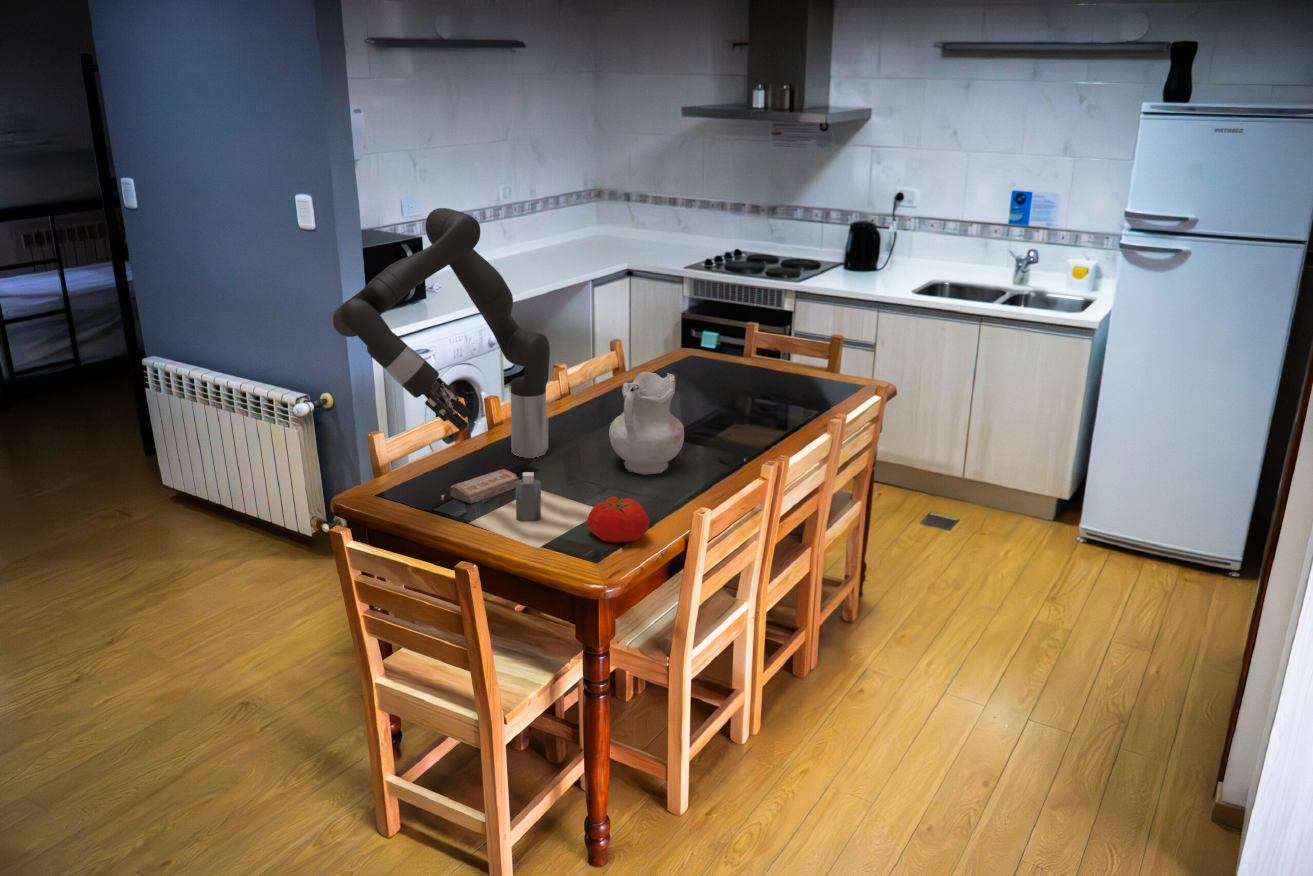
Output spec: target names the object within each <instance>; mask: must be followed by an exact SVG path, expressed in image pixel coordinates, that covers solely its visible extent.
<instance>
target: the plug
mask: <svg viewBox="0 0 1313 876" xmlns="http://www.w3.org/2000/svg"><path fill="white" fill-rule="evenodd" d="M534 473H535V472H534V471H533V472H527V471H525V472H522V479H518V481H516V488H515V500H516V520H518V521H522V522H524V521H539V520H540V519H541V490H542V488H541V487H542V481H541V480H539V479H535V476H534Z"/></svg>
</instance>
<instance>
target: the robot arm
mask: <svg viewBox="0 0 1313 876" xmlns="http://www.w3.org/2000/svg"><path fill="white" fill-rule="evenodd" d="M425 234H426V236H427V239H428V241H429V242H430V244H431V245H429V246H428V247H426V248H424V249H422V250H420V251H418V252H416V253H413V254H411V255H408V256H405V257H404V258H400V259H399V260H396V261H395V262H393V263H391V264H390V265H388V266H386V268H384V269H382V271H380V272H379V273H378V274H377V275H376V276H374V278H372V279H371V280H370V281H369V282H368V283H367V284H366V285H365V286H364V287H363V288H362V290H360V291H359V292H357V293H356V294H354V296H352V297H351V298H350V299H348V300H346V301H345V302H344V303H342V304H341V305H340V306H339V307H338V308H337V309H336V310H335V311H334V314H333V318H332V322H333V323H332V324H333V328H334V329H335V331H336V332H337V333H338V334H340V335H341V336H344V337H349V338H353V337H358V338H359V339H360V340H361V341H362V343H363V344H364V345H366V350H367V351H366V352H367V353H368V355H369V356H370V357H371V358H372V359H373V360H374V361H375V362H376V363H378V364H379V365H380V366H381V367H382V368H383V369H384V370H385V371H386V372H387V374H389V375H390V376H391V378H392V379H393V380H394V381H396V382H397V383H398V384H399V385H400V386H401V387H402V388H403V389H405V391H407V393H409V394H410V395H411V396H413V397H414V398H416V399H418V398H420V397H421V396H422V395H423V396H424V397H425V398H426V400H425V402H424V404H425V406H427V407H428V408H429V409H430V410H431V411H432V412H433V413H434V414H435V415H437V416H438V417H439V418H440V419H441V421H443V422H444V423H445V422H446V421H447V422H450V423H451V424H452V425H453V426H454V427H455V428H456V429H458V431H460V432H463V431H464V430H465V429H467V427H468V426H469V424H468V422H467V421H466V420H465V419H466V418H468V416H469V415H471V409H469V407H468V406H466V405H465V404H464V403H463V402H462V401H461V400H460V398H459V394H458V393H457V391H455V390H454V389H453V388H452V387H451V386H450V385H448V384H447V383H446V382H445V381H444V380H443V379H442V378H440V377H439V376H440V373H439V371H438V370H436V368H435V367H433V366H432V364H430V363H429V362H428V361H427V360H426V359H424V357H422V356H421V355H420V354H419V353H418V352H417V351H416V350H414V349H413V348H412V347H411V346H409V345H408V344H407V343H405V342H404V341H403V340H402V339H401V338H400V337H399V336H398V335H397V334H395V332H393V331H392V330H391V328H390V327H389V325H388V324H387V323H386V321H385V320H384V319H383V317H382V316H381V315H382V314H383V313H384V312H386V311H388V310H389V309H391V308H392V307H394V306H395V305H396V304H397V303H399V302H400V301H401V300H402V299H403V298H404V297H405V296H407V295H408V294H409V293H410V292H411V291H412V290H414V289H415V288H416V287H418V285H420V284H421V283H423V282H424V281H426V280H427V279H428V278H430V277H432V276H433V275H435V274H437V272H439V271H441V270H443V269H445V268H446V267H448V266H449V267H450V269H452V271H453V273H454V275H455V276H456V278H457V279H458V281H459V282H460V284H461V285H462V287H463V289H464V290H465V292H466V293H467V294H468V297H469V298H470V300H471V301H472V303H473V304H474V306H475V308H476V309H477V311H478V312H479V313H480V315H481V316H482V318H483V319H484V321H485V322H486V324H487V326H488V327H489V329H490V331H491V332H492V334H493V336H494V338H495V340H496V342H497V344H498V347H499V349H500V350H501V353H502V354H503V356H504V357H505V359H506V360H507V362H509V363H511V364H513V365H516V366H520V367H524V375H522V376H518V377H515V378H514V379H512V380H511V382H510V431H511V432H510V433H511V434H510V438H511V439H510V440H511V441H510V444H511V451H510V452H511V454H512V453H513V454H514V455H516V456H519V457H518V458H520V457H524V458H523V459H536V458H535V457H537V458H540V457H539V456H541V457H542V455H543V456H545V455H546V453H547V451H549V417H548V416H547V384H548V381H549V375H550V374H549V372H550V352H551V351H550V343H549V339H548V338H547V336H546V335H545V334H542V333H538V332H536V331H535V332H534V331H530V330H524V329H522V328H521V327H520V326H519V325H518V323H516V321H515V319H514V318H513V316H512V311H513V306H514V305H513V304H514V297H513V296H514V295H513V294H512V291H511V289H510V287H509V286H508V284H507V282H506V281H505V279H504V278H503V276H502V274H501V273H500V272H499V271H498V270H497V269H496V268H495V267H494V266H493V265H492V264H491V263H490V262H489V261H487V260H486V258H484V257H483V256H482V255H480V254H479V252H477V251H476V250H475V248H476V246H477V245H478V243H479V241H480V238H481V226H480V224H479V221H478V220H477V219H476V218H475V217H474V216H472V215H470V214H468V213H465V212H462V211H458V210H457V209H456V210H455V209H452V208H447V207H438V208H434V209H433V210H432V211H431V212H430V213H428V215H427V217H426V220H425ZM513 454H512V455H513ZM514 455H513V456H514ZM516 456H515V457H516Z"/></svg>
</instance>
